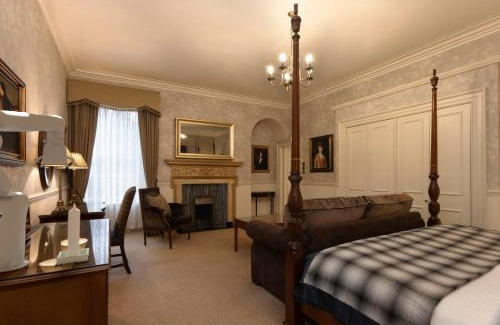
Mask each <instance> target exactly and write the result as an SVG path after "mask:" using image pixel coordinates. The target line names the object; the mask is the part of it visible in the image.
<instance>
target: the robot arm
mask: <svg viewBox="0 0 500 325" xmlns="http://www.w3.org/2000/svg"><path fill="white" fill-rule="evenodd" d="M65 127H66V121H65V118H63V117H61V116H59V115H52V114H40V113H30V112H21V111H11V110H3V109H0V132H18V133H19V132H20V133H21V132H22V133H23V132H30V133H31V132H46V139H43V140H42V142H43V143H45V144H44V146H43V152H42V155H40V156H37V157H36V158H34V161H35V163H36V165H38V166H39V167H40V174H42V176H45V175H46V167H45V166H46V165H51V164H52V165H54V164H55V165H64V166H65V167H64V175H65V176H68V174H70V173H69V172H70V170H69V168H70V167H71V166H72V165H73V164H74V163H75V161H76V159H75V158H72V157H71V156H68V150H67V145H66V144H65ZM2 146H3V137H2V135H1V134H0V149H1V148H2ZM40 160H42V163H41V162H40ZM68 160H69V161H70V162H69V163H68ZM13 189H14V184H13V181H12V179H11V178H10V177H9V175H8V174H7V173H6V171H5V170H4V169H3V167H2V166H1V164H0V215H1V216H0V273H4V272H10V271H11V272H12V271H14V270H19V269H22V268H25V267H27V266H28V265H30V260H28V259H25V255H26V254H25V253H26V252H25V251H26V224H27V223H26V222H27V220H26V219H27V215H28V210H29V207H30V198H29V196H28V195H27V194H25V193H23V192H22V191H21V192H20V191H13Z"/></svg>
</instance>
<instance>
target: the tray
mask: <svg viewBox="0 0 500 325" xmlns="http://www.w3.org/2000/svg"><path fill="white" fill-rule="evenodd" d="M79 254H81V255H74V256H67V250H60V251H59V253H58V254H57V256H56V258H55V260H56V261H55V262H56V266H61V265H60V264H62V265H67V263H69V264H74V263H73V262H77V263H81V262H82V263H84V262H88V260H89V257H88V256H90V248H89V247H87V248H79ZM65 256H66V257H65Z"/></svg>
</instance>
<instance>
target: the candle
mask: <svg viewBox="0 0 500 325" xmlns="http://www.w3.org/2000/svg"><path fill="white" fill-rule="evenodd" d="M80 221H81V210H80V209H79V208H77V206H76V203H73V206H72V208H70V209H69V210H68V215H67V248H66V249H67V250H66V251H67V256H74V255H81V254H79V249H80V229H81V228H80V227H81V222H80ZM65 257H66V256H65Z"/></svg>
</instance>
